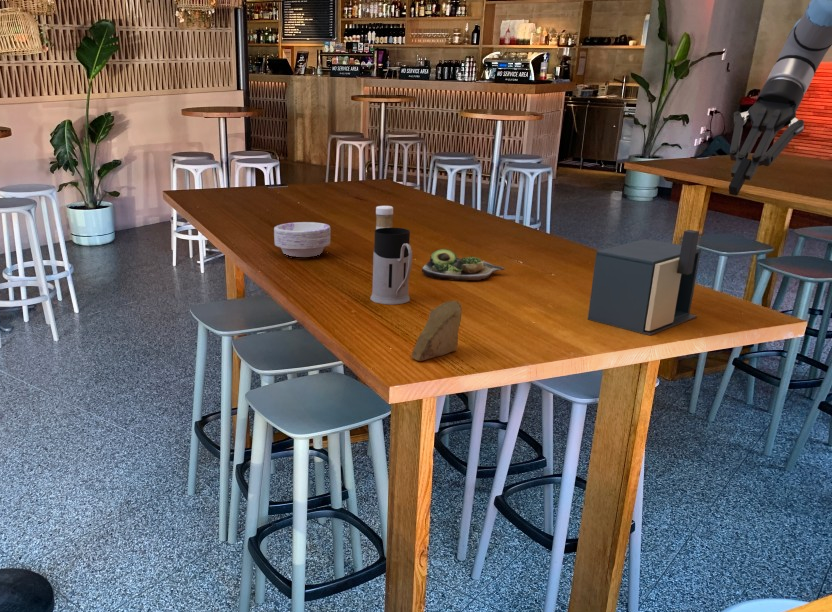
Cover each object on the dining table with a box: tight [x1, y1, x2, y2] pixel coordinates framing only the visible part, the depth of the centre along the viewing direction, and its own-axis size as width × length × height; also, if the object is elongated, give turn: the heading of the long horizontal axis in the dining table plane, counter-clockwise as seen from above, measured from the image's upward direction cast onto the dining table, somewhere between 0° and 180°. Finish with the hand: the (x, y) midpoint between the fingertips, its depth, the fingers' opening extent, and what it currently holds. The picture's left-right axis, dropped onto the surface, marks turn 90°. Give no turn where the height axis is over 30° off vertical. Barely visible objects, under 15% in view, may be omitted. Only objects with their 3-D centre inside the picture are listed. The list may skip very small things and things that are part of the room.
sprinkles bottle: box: [375, 205, 394, 230], centre depth 209 cm, size 5×5×13 cm
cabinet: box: [587, 238, 702, 336], centre depth 158 cm, size 14×18×14 cm
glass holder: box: [369, 227, 413, 305], centre depth 169 cm, size 9×14×15 cm, turn 18°
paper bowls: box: [273, 221, 331, 257], centre depth 213 cm, size 15×15×8 cm
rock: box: [410, 300, 463, 362], centre depth 140 cm, size 11×9×10 cm
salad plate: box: [421, 248, 506, 281], centre depth 195 cm, size 19×18×5 cm
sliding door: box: [645, 229, 700, 331], centre depth 149 cm, size 3×9×18 cm, turn 129°
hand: (733, 191), depth 152 cm, fingers closed
